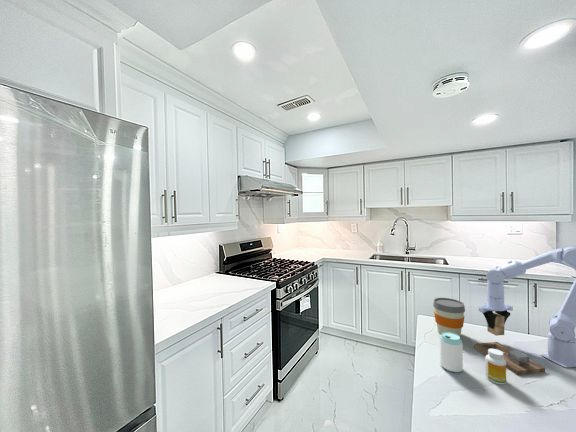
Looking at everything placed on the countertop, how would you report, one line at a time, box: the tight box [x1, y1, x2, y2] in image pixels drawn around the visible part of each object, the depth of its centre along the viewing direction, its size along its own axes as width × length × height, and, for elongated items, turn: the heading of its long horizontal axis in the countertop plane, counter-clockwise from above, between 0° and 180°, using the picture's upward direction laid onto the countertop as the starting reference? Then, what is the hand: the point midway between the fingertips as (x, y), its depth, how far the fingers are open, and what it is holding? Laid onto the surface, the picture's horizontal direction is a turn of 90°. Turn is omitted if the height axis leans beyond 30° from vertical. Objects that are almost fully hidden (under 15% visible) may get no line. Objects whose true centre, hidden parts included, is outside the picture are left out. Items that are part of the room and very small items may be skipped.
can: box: [439, 332, 464, 373], centre depth 91 cm, size 7×7×12 cm
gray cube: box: [508, 350, 530, 366], centre depth 91 cm, size 4×4×4 cm
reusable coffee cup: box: [432, 297, 466, 338], centre depth 116 cm, size 12×13×15 cm
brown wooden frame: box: [473, 341, 546, 376], centre depth 95 cm, size 11×18×2 cm, turn 6°
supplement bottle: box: [485, 348, 507, 385], centre depth 84 cm, size 5×5×10 cm
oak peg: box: [486, 312, 505, 337], centre depth 107 cm, size 4×4×8 cm
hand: (495, 327), depth 107 cm, fingers closed on oak peg, 4 cm apart
